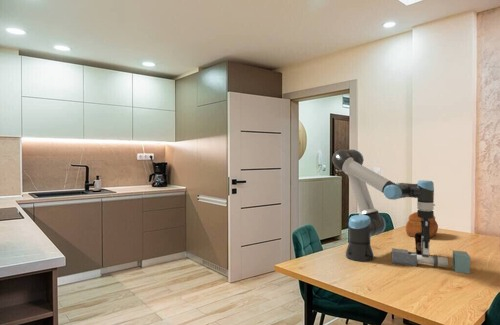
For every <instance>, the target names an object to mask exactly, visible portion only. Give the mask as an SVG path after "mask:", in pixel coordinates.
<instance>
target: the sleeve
mask: <svg viewBox="0 0 500 325" xmlns="http://www.w3.org/2000/svg"><path fill="white" fill-rule="evenodd" d="M411 254H415V255H411ZM391 264H393V265H400V266H401V265H402V266H408V267H409V266H410V267H418V263H417V255H416V251H409V250H408V249H402V248H391Z"/></svg>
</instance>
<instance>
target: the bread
mask: <svg viewBox="0 0 500 325" xmlns="http://www.w3.org/2000/svg"><path fill="white" fill-rule="evenodd" d="M421 220H422V218H420V217H418V216H417V211H416V212H412V214H410V215H409V216H408V221H407V222H406V225H405V232H406V235H407V236H409V237H412V238H415V234H416V233H418V232H421V230H422V227H421ZM428 221H429V222H430V229H429V235H430V236H431V237H430V238H432V237H433V236H436V235H437V233H438V231H439V230H438V228H439V225H438V223H437V221H436V217H435V215H434V217H433V218H431V219H430V218H429V219H428Z"/></svg>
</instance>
